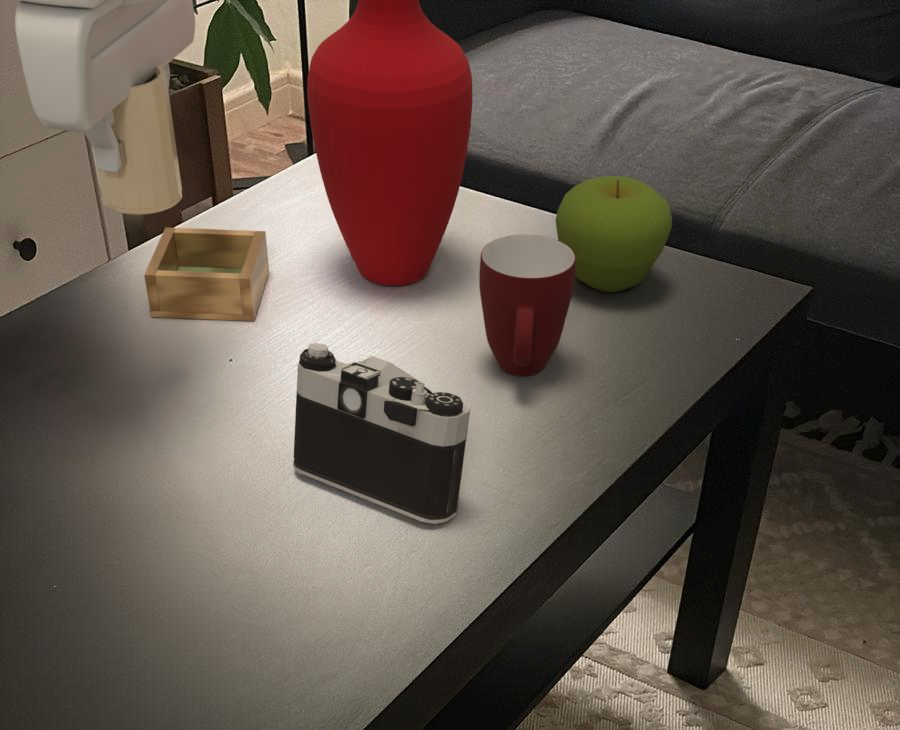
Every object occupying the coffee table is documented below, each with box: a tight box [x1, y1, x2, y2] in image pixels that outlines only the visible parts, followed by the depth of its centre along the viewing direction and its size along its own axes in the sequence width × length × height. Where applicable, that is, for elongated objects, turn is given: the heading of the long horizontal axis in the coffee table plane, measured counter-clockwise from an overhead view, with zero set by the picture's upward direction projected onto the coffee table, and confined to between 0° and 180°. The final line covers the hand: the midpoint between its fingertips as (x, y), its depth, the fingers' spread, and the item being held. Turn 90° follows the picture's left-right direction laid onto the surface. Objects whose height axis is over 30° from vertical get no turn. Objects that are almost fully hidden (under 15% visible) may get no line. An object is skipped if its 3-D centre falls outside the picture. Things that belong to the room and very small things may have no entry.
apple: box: [555, 175, 673, 294], centre depth 121 cm, size 11×10×10 cm
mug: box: [478, 234, 576, 377], centre depth 110 cm, size 11×8×10 cm
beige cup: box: [91, 65, 183, 215], centre depth 98 cm, size 6×6×9 cm
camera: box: [292, 342, 471, 525], centre depth 100 cm, size 15×11×10 cm
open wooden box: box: [143, 227, 270, 322], centre depth 121 cm, size 10×10×4 cm
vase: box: [306, 0, 473, 287], centre depth 115 cm, size 15×15×30 cm
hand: (134, 148), depth 98 cm, fingers closed on beige cup, 6 cm apart
